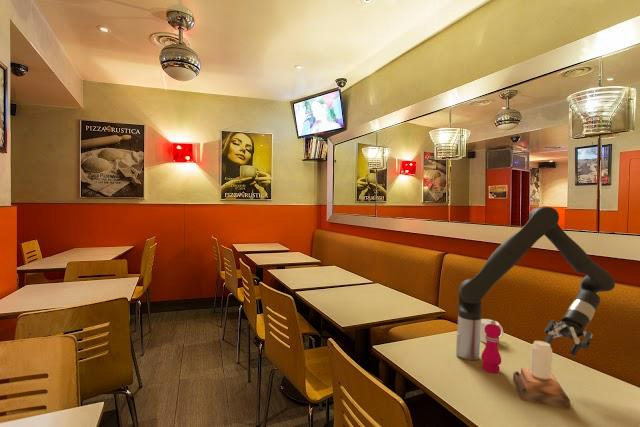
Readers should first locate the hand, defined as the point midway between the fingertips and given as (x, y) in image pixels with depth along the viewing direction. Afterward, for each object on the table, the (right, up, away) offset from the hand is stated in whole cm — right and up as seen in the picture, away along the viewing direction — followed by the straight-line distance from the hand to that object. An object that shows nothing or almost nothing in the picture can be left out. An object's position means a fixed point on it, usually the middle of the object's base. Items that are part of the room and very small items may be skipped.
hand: (558, 349), depth 125 cm
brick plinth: (-10, -14, -4) cm, 17 cm away
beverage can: (-9, -8, -4) cm, 13 cm away
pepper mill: (-18, -14, +13) cm, 26 cm away
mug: (-3, -13, +44) cm, 46 cm away
